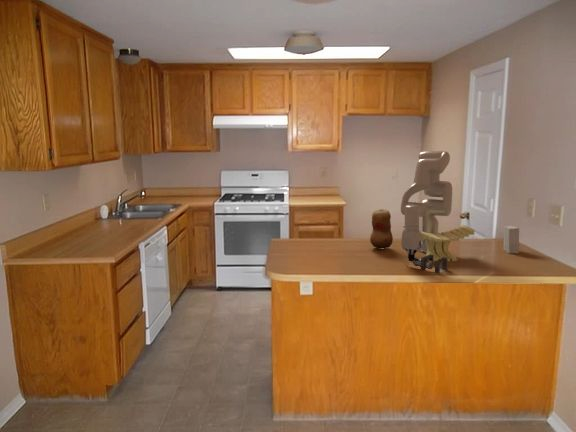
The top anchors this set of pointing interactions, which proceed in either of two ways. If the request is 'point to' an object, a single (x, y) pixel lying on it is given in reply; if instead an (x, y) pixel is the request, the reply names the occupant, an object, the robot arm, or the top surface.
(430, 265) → the tube
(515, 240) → the skincare box
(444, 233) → the slatted curved stool
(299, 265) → the top surface
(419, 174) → the robot arm
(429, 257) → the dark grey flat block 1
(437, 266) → the dark angular blocks
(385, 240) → the butternut squash
